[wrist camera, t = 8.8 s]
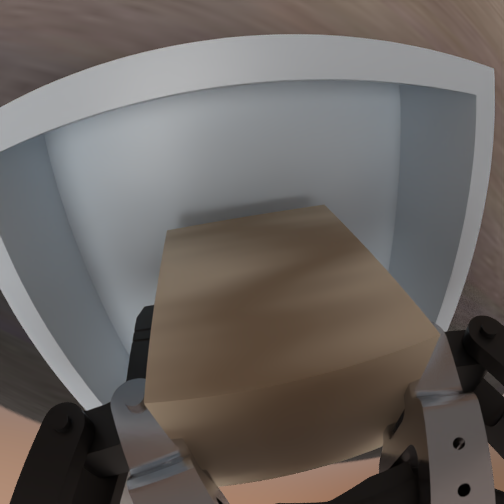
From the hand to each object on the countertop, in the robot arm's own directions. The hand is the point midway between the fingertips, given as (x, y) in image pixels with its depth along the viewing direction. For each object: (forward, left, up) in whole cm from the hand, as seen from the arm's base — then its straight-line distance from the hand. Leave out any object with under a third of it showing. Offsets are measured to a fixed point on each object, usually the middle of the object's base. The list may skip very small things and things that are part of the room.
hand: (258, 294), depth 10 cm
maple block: (0, 0, -1) cm, 1 cm away
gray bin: (0, 0, -3) cm, 3 cm away
